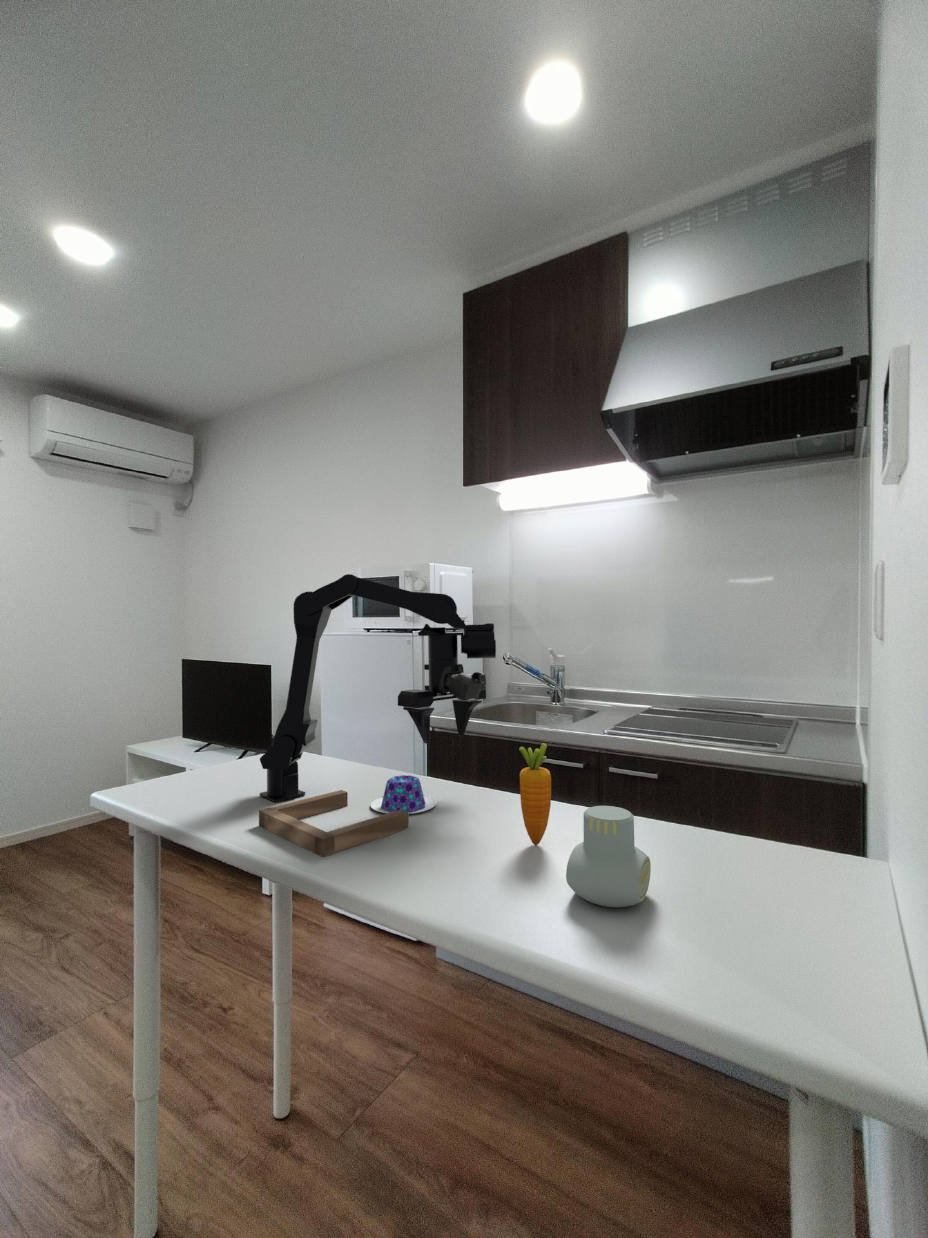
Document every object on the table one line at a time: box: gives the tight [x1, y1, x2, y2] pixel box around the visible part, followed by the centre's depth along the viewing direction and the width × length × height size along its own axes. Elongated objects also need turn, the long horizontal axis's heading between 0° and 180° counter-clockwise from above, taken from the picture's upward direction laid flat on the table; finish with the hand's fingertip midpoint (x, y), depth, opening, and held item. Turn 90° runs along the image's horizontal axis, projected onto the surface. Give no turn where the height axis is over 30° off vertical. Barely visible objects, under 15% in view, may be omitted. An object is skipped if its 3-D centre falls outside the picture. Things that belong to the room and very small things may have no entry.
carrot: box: [518, 742, 552, 846], centre depth 84 cm, size 5×5×15 cm
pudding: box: [370, 774, 437, 815], centre depth 103 cm, size 12×12×5 cm
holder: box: [258, 789, 410, 858], centre depth 92 cm, size 19×16×2 cm
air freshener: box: [565, 805, 652, 909], centre depth 68 cm, size 11×8×10 cm
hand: (444, 739), depth 109 cm, fingers open, 9 cm apart
